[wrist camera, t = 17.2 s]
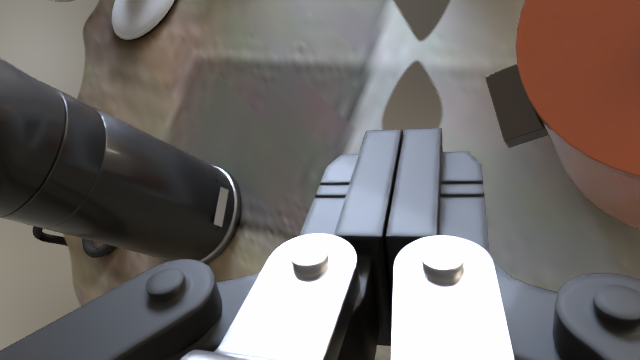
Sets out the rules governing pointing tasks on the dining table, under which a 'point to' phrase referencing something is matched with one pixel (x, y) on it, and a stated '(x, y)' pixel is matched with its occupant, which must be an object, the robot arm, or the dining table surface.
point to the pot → (579, 95)
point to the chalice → (136, 16)
